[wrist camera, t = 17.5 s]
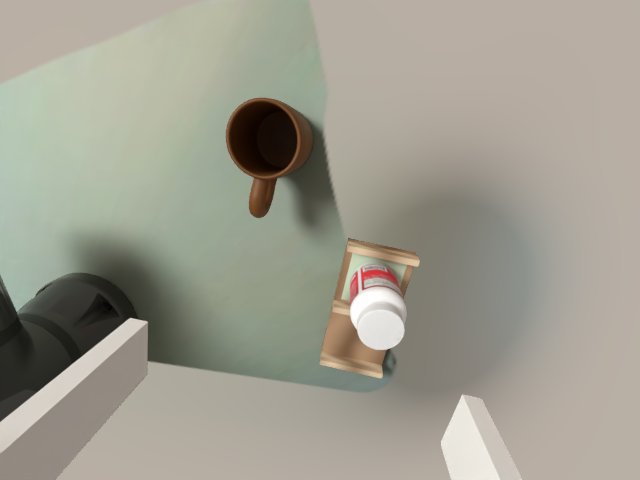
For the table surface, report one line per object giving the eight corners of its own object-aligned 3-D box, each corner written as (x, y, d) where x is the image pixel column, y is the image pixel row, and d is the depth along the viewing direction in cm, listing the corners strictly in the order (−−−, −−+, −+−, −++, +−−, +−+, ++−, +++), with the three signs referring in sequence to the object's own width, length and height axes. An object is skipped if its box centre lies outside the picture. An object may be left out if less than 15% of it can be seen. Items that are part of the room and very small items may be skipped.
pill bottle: (367, 310, 42) (373, 366, 32) (340, 277, 41) (337, 324, 30) (406, 286, 40) (425, 337, 30) (378, 251, 39) (389, 291, 29)
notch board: (321, 350, 46) (319, 364, 44) (348, 238, 40) (348, 245, 38) (379, 363, 46) (381, 378, 43) (415, 252, 40) (420, 261, 37)
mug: (301, 211, 40) (287, 231, 31) (245, 198, 40) (215, 214, 31) (320, 114, 36) (310, 105, 27) (258, 100, 36) (228, 87, 27)
